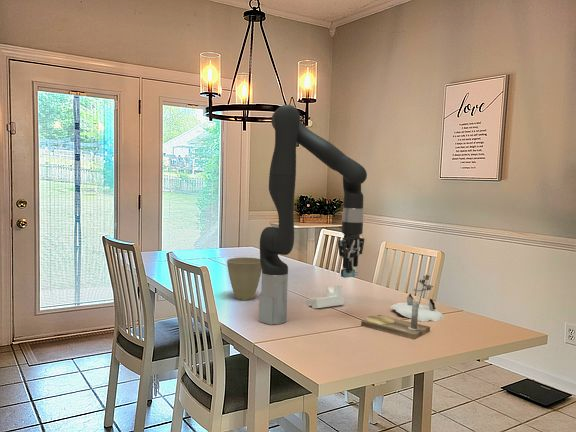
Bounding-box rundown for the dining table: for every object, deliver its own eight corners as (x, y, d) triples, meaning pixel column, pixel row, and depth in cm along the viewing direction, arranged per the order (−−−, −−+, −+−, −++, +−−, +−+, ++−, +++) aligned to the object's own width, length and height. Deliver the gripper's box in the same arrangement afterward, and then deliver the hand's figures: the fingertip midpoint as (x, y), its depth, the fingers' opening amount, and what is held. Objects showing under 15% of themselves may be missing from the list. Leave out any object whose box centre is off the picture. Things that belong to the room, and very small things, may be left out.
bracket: (333, 304, 206) (331, 286, 207) (344, 304, 200) (341, 285, 201) (307, 308, 200) (305, 289, 201) (317, 308, 194) (315, 288, 195)
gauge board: (413, 339, 162) (415, 307, 161) (358, 325, 176) (359, 295, 175) (429, 331, 171) (431, 301, 170) (376, 318, 185) (377, 290, 184)
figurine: (380, 309, 194) (386, 269, 191) (408, 303, 206) (414, 265, 203) (424, 327, 179) (431, 283, 176) (452, 320, 191) (459, 278, 188)
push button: (354, 274, 186) (354, 248, 186) (361, 277, 182) (362, 250, 181) (338, 276, 184) (338, 249, 183) (345, 278, 179) (346, 251, 178)
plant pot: (243, 292, 219) (244, 255, 217) (269, 298, 209) (270, 260, 208) (218, 297, 207) (219, 259, 206) (244, 304, 198) (245, 264, 196)
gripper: (350, 222, 172) (347, 271, 174) (372, 220, 183) (369, 266, 185) (332, 220, 177) (330, 268, 179) (354, 219, 188) (352, 263, 189)
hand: (350, 267), depth 182 cm, fingers closed on push button, 5 cm apart
